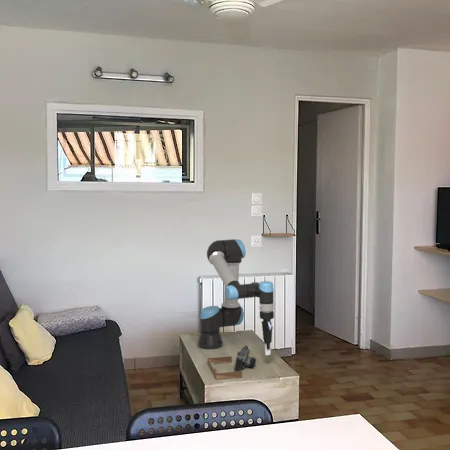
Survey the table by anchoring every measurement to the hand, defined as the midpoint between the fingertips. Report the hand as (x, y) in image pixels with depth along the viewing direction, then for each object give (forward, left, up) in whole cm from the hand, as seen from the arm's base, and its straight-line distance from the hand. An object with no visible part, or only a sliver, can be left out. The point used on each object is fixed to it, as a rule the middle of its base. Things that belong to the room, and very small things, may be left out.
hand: (267, 354), depth 277 cm
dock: (0, -23, -7) cm, 24 cm away
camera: (-1, -12, -7) cm, 14 cm away
